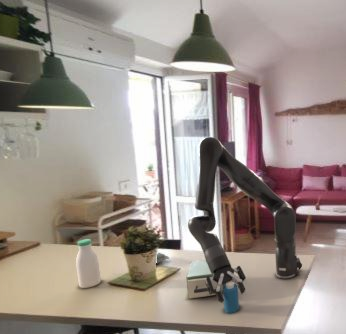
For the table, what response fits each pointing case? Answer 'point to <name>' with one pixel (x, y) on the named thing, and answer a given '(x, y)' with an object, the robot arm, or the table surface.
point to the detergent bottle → (230, 297)
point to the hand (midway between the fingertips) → (233, 297)
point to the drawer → (199, 287)
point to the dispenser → (199, 271)
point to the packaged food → (161, 257)
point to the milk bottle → (87, 265)
